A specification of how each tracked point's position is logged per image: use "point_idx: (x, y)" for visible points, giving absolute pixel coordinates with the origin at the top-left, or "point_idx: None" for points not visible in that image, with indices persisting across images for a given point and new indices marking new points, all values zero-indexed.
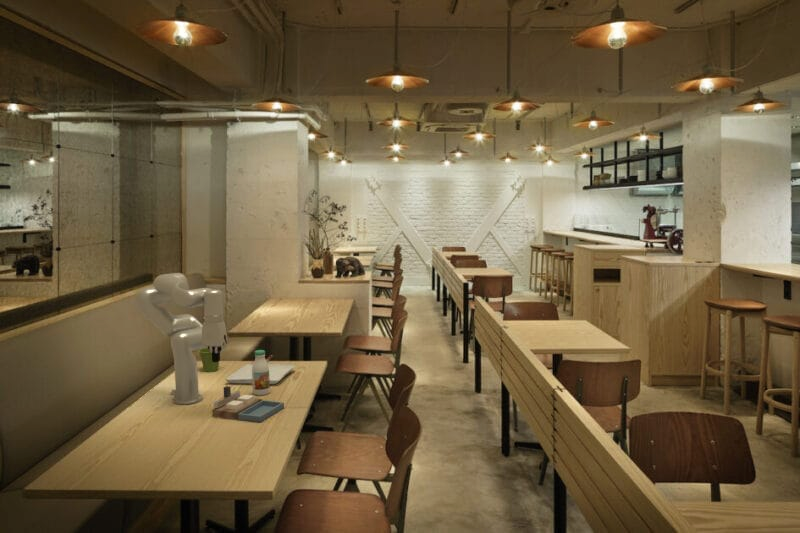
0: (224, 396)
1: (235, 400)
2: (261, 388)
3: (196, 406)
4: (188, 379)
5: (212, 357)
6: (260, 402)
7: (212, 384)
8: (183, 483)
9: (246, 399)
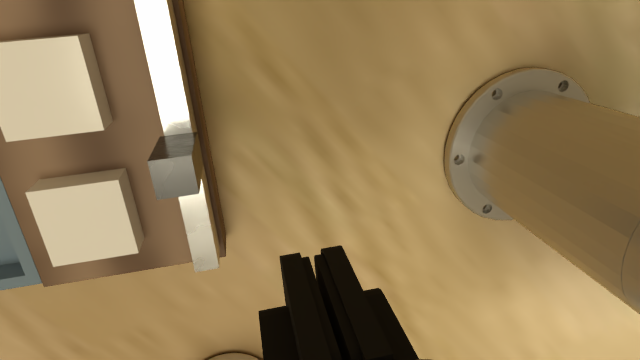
0: (190, 132)
1: None
2: None
3: (410, 92)
4: (579, 159)
5: (351, 292)
6: (16, 250)
7: (533, 354)
8: None
9: (36, 190)
